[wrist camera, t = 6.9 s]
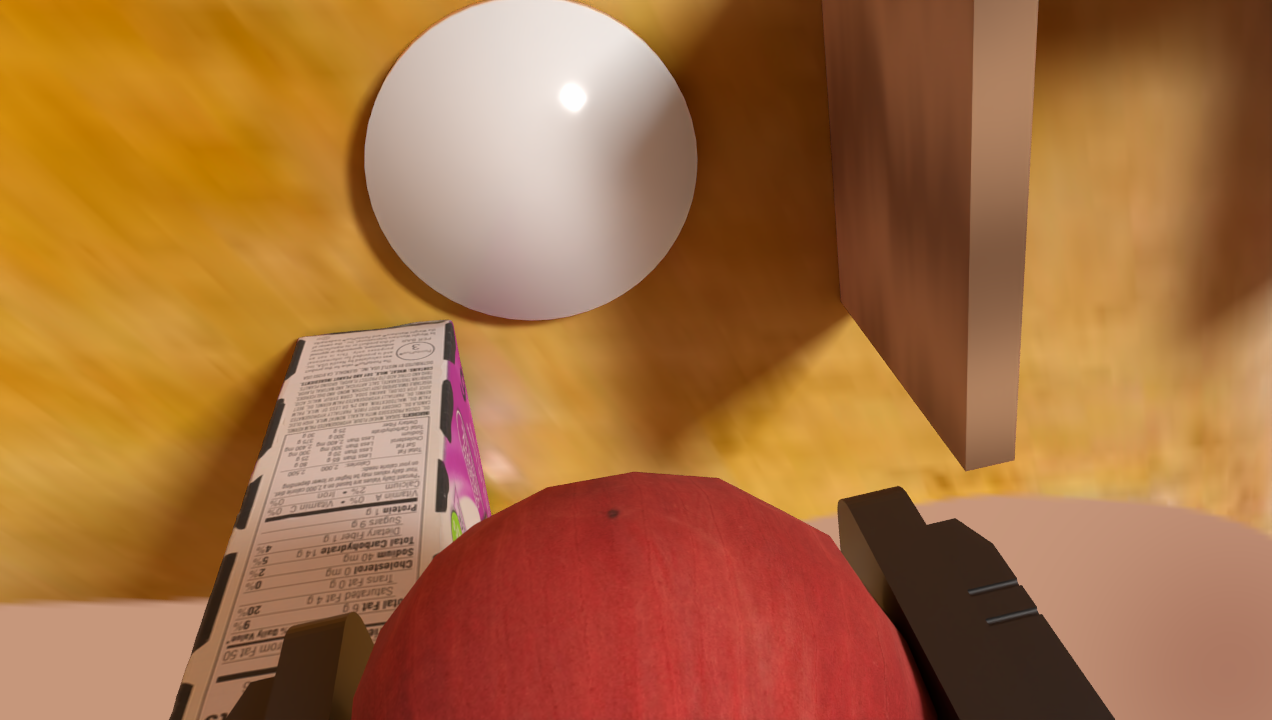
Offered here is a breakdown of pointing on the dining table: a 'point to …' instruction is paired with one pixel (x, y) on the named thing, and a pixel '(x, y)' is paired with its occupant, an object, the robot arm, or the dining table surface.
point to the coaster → (530, 158)
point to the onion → (641, 616)
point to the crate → (936, 200)
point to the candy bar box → (340, 501)
